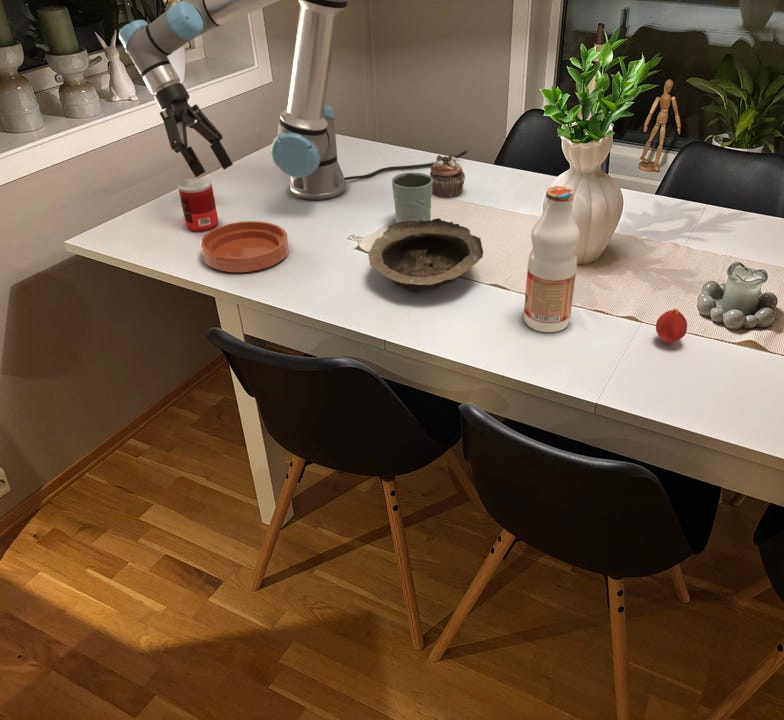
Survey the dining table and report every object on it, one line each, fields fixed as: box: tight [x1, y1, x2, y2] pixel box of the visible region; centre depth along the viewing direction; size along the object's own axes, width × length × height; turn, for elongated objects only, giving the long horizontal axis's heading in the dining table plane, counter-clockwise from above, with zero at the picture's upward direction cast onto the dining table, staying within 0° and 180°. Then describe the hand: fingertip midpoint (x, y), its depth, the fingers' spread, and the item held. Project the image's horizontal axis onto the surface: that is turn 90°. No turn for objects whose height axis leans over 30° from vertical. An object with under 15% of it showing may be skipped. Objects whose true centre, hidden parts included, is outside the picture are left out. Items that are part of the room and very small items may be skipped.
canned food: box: [177, 177, 219, 233], centre depth 180 cm, size 8×8×11 cm
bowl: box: [200, 220, 290, 273], centre depth 170 cm, size 19×19×4 cm
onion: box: [655, 307, 688, 345], centre depth 141 cm, size 6×6×8 cm
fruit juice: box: [523, 185, 581, 333], centre depth 141 cm, size 9×9×28 cm
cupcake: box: [429, 154, 466, 199], centre depth 200 cm, size 10×10×10 cm
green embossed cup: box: [391, 172, 433, 223], centre depth 182 cm, size 10×10×12 cm
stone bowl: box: [367, 217, 484, 293], centre depth 160 cm, size 25×25×9 cm
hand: (215, 170), depth 179 cm, fingers open, 13 cm apart
